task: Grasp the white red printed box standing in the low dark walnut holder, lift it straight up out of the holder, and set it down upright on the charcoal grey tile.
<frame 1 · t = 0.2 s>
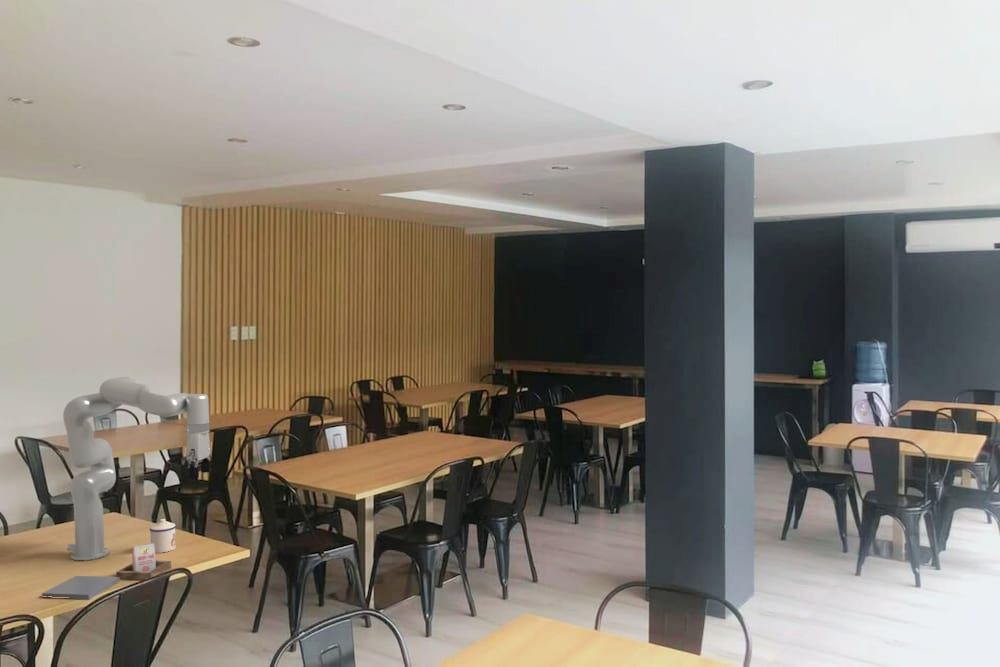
hand: (200, 475, 284), 31 cm above the table, tool pointing down, fingers open, 9 cm apart
grey tile: (82, 589, 257), on the table
white red printed box: (144, 574, 271), resting in walnut holder
teacup with lid: (163, 549, 299), on the table
walnut holder: (144, 573, 271), on the table
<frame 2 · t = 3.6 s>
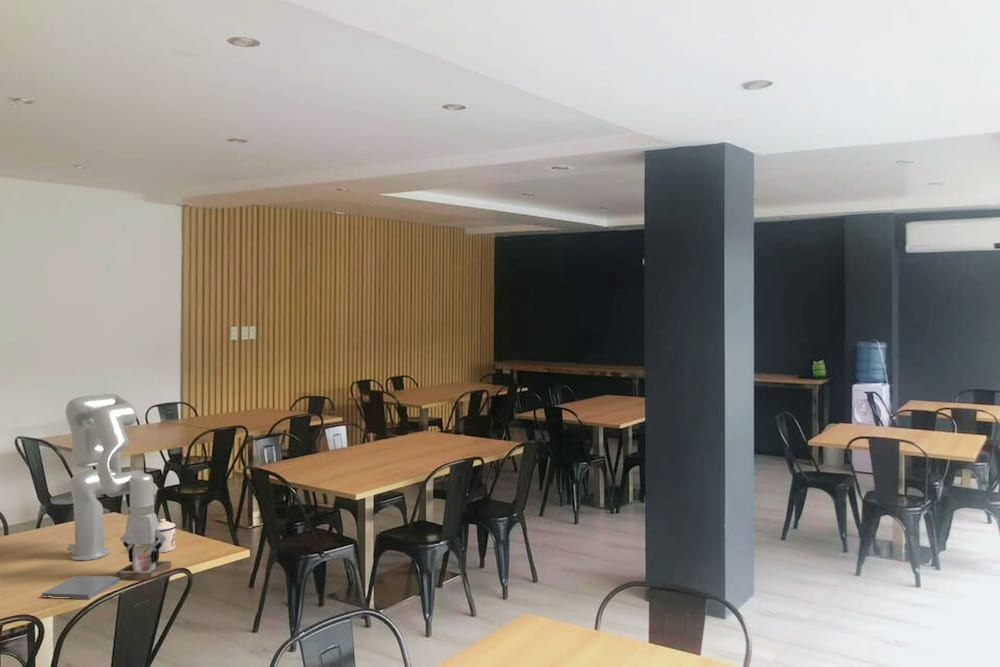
hand: (144, 560, 271), 4 cm above the table, tool pointing down, fingers closed on white red printed box, 7 cm apart
white red printed box: (144, 574, 271), resting in walnut holder, touching gripper
everything else where it was.
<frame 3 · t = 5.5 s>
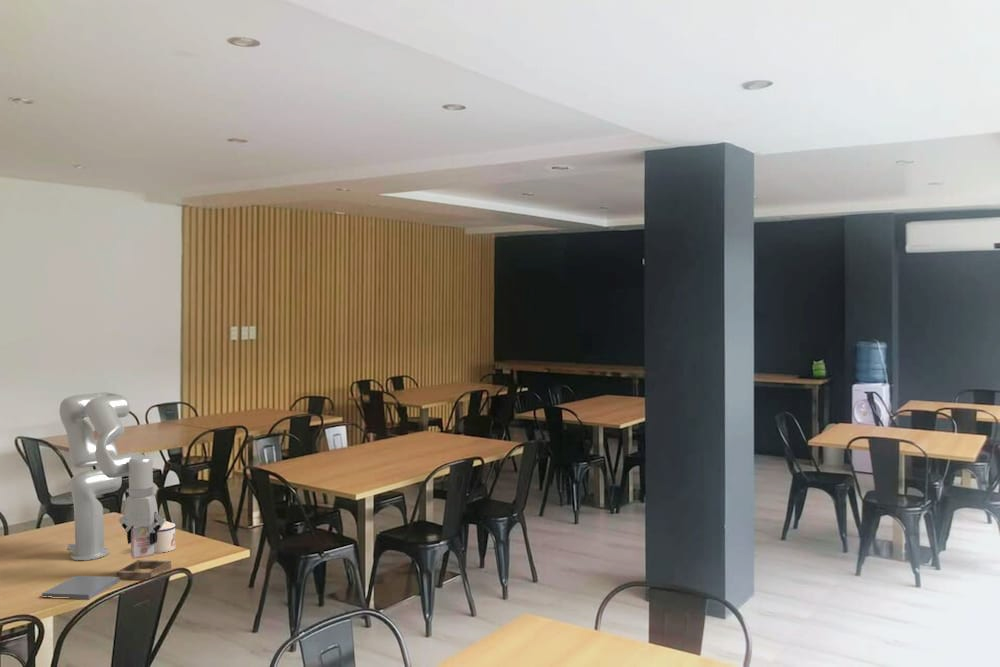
hand: (142, 542, 271), 11 cm above the table, tool pointing down, fingers closed on white red printed box, 7 cm apart
white red printed box: (142, 555, 271), point 6 cm above the table, touching gripper
everything else where it was.
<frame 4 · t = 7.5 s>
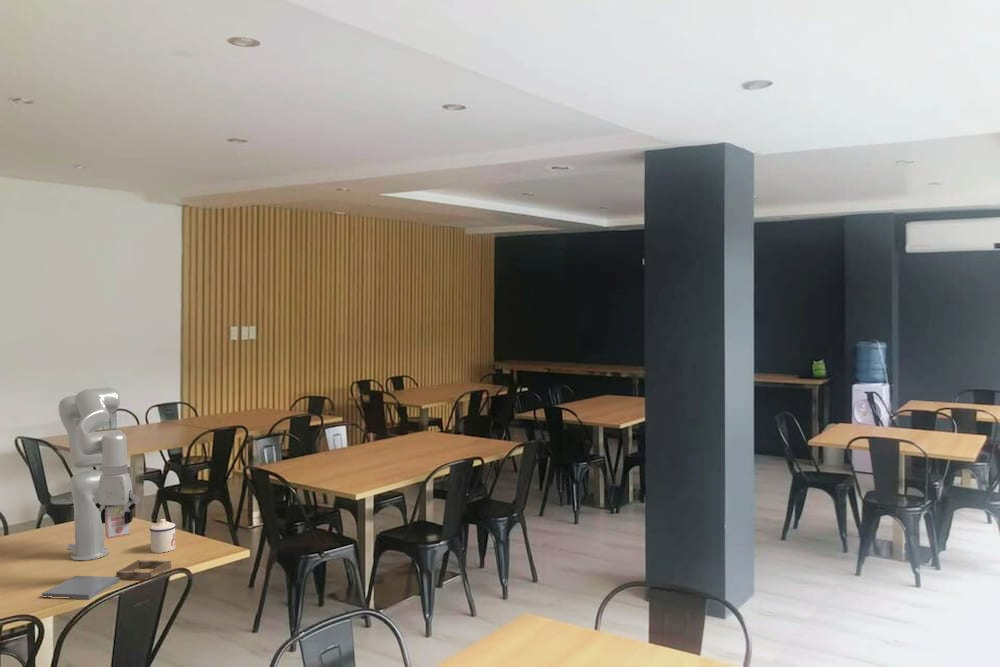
hand: (117, 522, 264), 20 cm above the table, tool pointing down, fingers closed on white red printed box, 7 cm apart
white red printed box: (117, 535, 264), point 15 cm above the table, touching gripper
everything else where it was.
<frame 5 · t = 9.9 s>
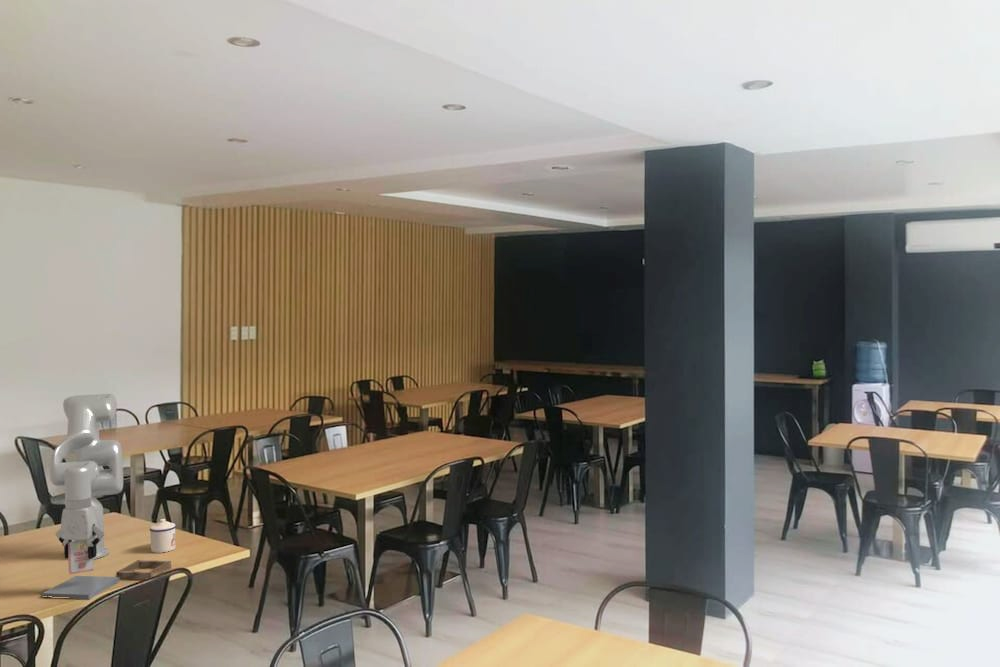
hand: (80, 557, 256), 11 cm above the table, tool pointing down, fingers closed on white red printed box, 7 cm apart
white red printed box: (81, 571, 256), point 6 cm above the table, touching gripper
everything else where it was.
when the fingers open (7 cm above the table, at t = 11.7 s): white red printed box stays where it is, resting on grey tile.
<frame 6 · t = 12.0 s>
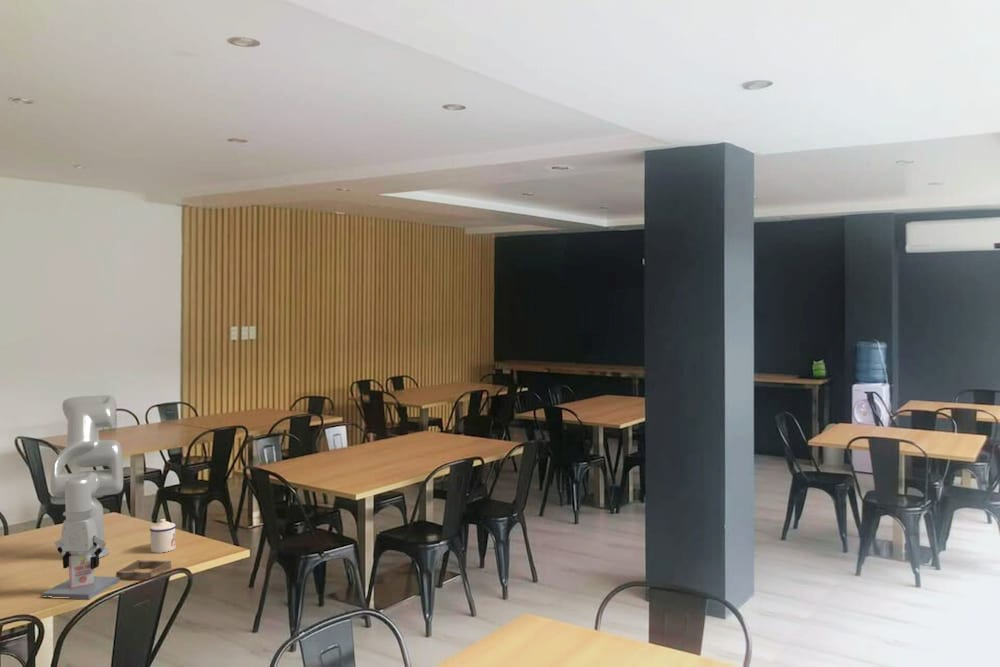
hand: (81, 567, 256), 7 cm above the table, tool pointing down, fingers open, 9 cm apart
white red printed box: (81, 585, 257), point 1 cm above the table, touching grey tile
everything else where it was.
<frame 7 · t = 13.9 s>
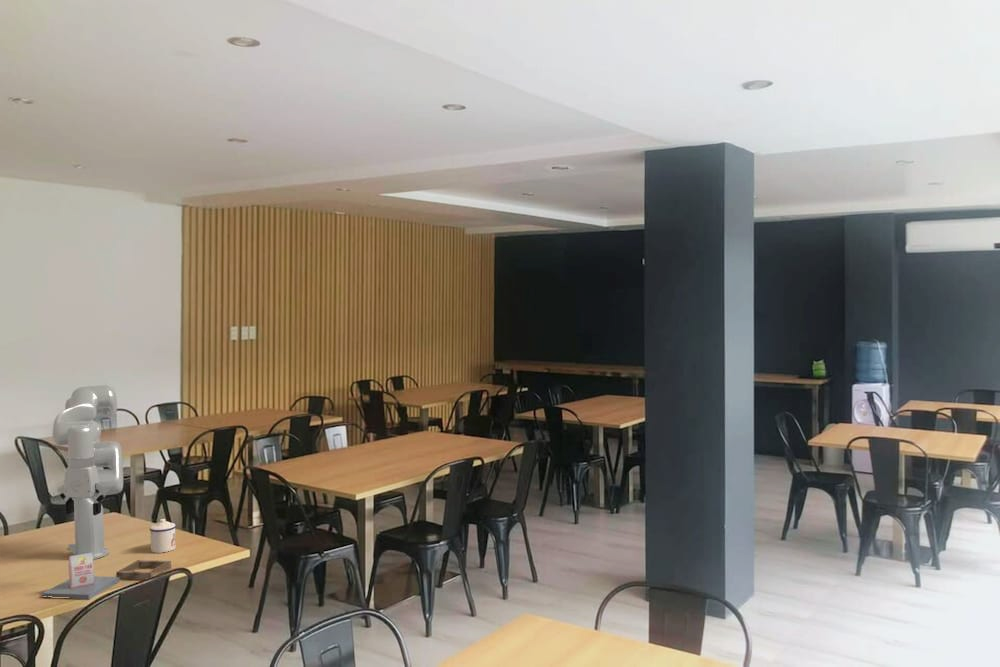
hand: (83, 513, 261), 24 cm above the table, tool pointing down, fingers open, 9 cm apart
nothing on the table moved.
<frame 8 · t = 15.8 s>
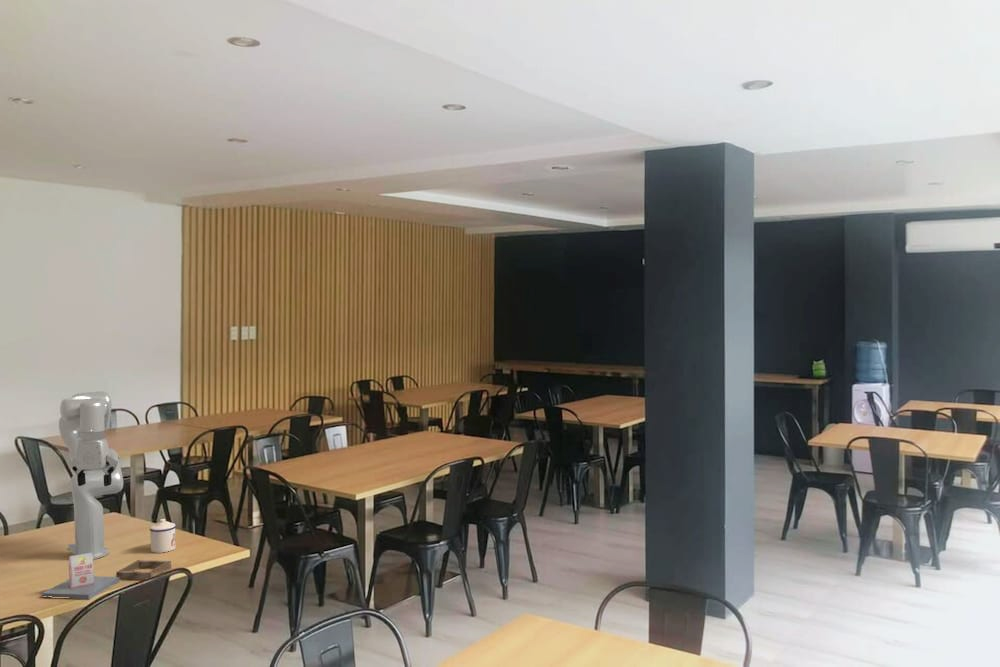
hand: (94, 485, 273), 30 cm above the table, tool pointing down, fingers open, 9 cm apart
nothing on the table moved.
at the end: white red printed box inside the target area on the grey tile (0.1 cm from its centre), point 1.3 cm above the grey tile's base; white red printed box tilted 0°; the gripper is holding nothing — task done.
